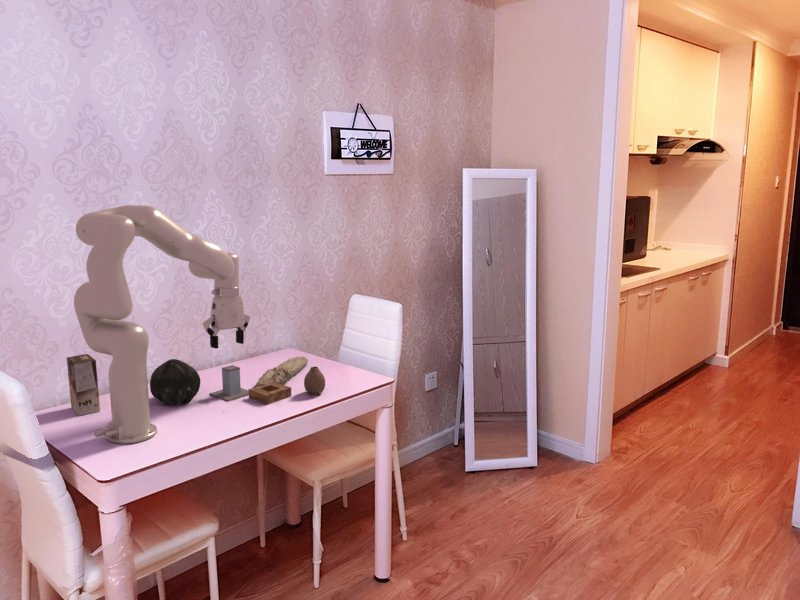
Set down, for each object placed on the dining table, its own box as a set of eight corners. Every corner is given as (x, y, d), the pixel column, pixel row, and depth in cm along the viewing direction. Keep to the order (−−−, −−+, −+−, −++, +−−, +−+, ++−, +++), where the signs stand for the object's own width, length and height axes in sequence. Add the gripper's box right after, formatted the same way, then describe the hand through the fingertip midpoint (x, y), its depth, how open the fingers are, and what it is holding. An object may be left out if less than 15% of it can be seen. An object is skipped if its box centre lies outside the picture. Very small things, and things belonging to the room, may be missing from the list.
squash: (184, 372, 215) (158, 346, 204) (216, 381, 207) (191, 355, 197) (158, 408, 208) (130, 384, 197) (191, 419, 201) (163, 394, 190)
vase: (319, 397, 207) (319, 371, 206) (300, 395, 210) (299, 369, 208) (328, 391, 214) (328, 365, 212) (310, 388, 216) (309, 363, 214)
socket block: (267, 404, 201) (266, 395, 200) (248, 398, 206) (248, 389, 206) (291, 396, 209) (291, 387, 208) (273, 390, 214) (272, 381, 214)
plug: (230, 395, 208) (229, 370, 206) (222, 393, 210) (221, 367, 208) (240, 392, 211) (239, 367, 209) (233, 389, 213) (232, 365, 211)
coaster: (228, 401, 203) (228, 400, 203) (209, 394, 210) (209, 393, 210) (253, 393, 211) (253, 392, 211) (234, 386, 217) (234, 385, 217)
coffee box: (101, 411, 194) (96, 359, 191) (78, 416, 190) (73, 363, 187) (92, 403, 201) (88, 353, 198) (70, 407, 197) (65, 356, 194)
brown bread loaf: (314, 367, 246) (290, 366, 248) (313, 353, 245) (289, 353, 247) (278, 392, 212) (250, 391, 214) (277, 376, 211) (249, 375, 213)
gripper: (210, 296, 195) (211, 351, 197) (256, 291, 208) (256, 343, 211) (195, 293, 199) (196, 347, 202) (241, 288, 213) (242, 339, 215)
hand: (227, 345), depth 206 cm, fingers open, 9 cm apart
